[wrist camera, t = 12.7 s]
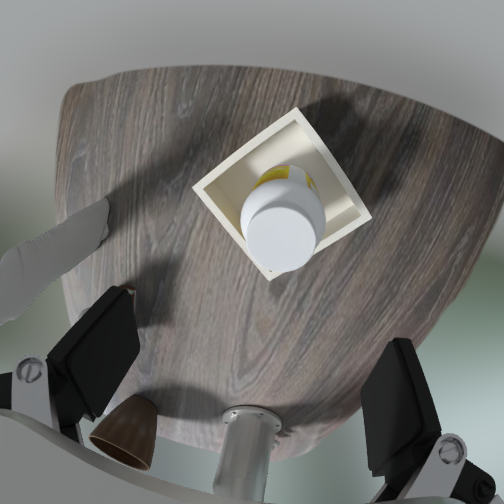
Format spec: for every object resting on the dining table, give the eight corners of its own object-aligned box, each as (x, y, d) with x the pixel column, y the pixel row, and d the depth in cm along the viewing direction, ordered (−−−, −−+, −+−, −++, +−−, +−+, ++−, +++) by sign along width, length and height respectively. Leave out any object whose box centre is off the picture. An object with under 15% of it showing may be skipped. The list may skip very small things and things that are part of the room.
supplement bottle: (246, 207, 31) (215, 260, 19) (270, 153, 28) (252, 172, 16) (300, 232, 31) (301, 298, 20) (327, 180, 28) (349, 220, 17)
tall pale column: (100, 259, 39) (4, 349, 19) (81, 245, 38) (-17, 326, 19) (118, 203, 34) (-10, 287, 14) (97, 189, 34) (-31, 259, 14)
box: (361, 204, 30) (372, 218, 25) (272, 260, 34) (268, 281, 30) (296, 110, 26) (296, 107, 22) (206, 178, 31) (191, 187, 27)
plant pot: (132, 414, 61) (110, 459, 46) (106, 380, 55) (76, 429, 40) (180, 424, 58) (160, 476, 43) (156, 389, 52) (128, 448, 37)
